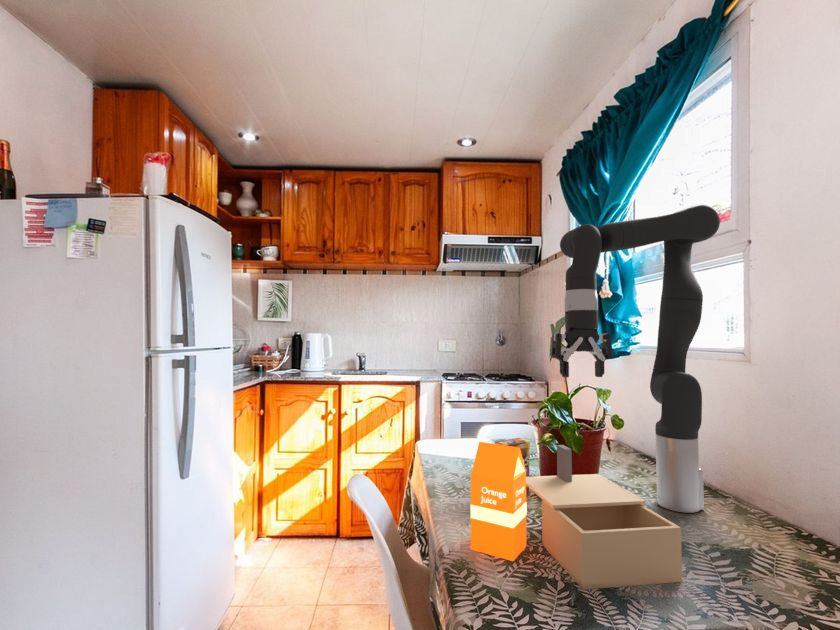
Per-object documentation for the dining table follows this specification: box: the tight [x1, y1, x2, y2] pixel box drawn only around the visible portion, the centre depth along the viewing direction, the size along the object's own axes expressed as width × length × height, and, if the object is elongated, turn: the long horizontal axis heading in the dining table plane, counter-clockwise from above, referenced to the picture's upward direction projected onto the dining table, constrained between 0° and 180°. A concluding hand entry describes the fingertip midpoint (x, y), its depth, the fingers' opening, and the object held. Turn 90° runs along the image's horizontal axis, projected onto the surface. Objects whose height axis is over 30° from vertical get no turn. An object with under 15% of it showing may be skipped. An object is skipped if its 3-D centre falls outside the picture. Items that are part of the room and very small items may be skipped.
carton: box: [541, 499, 683, 590], centre depth 81 cm, size 18×16×9 cm
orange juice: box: [470, 441, 528, 562], centre depth 87 cm, size 8×9×20 cm
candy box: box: [494, 437, 531, 502], centre depth 111 cm, size 9×4×15 cm, turn 123°
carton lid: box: [526, 444, 647, 509], centre depth 92 cm, size 19×17×8 cm
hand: (582, 377), depth 104 cm, fingers open, 8 cm apart
